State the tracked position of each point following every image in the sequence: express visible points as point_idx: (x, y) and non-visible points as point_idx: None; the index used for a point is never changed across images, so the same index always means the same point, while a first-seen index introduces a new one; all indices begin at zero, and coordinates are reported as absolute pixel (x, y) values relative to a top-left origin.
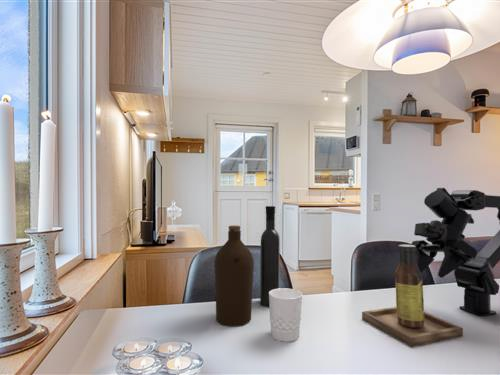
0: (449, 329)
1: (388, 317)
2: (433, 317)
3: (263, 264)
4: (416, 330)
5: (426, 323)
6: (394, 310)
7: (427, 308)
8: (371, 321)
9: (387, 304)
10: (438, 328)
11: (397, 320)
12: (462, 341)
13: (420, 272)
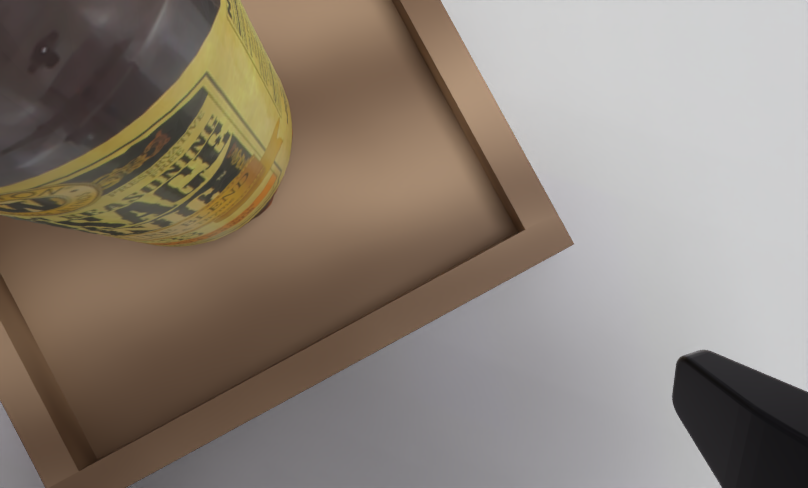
0: (16, 392)
1: (319, 3)
2: (270, 369)
3: None
4: None
5: (236, 289)
6: (442, 83)
7: (698, 474)
8: None
9: (738, 120)
10: (144, 347)
11: None
12: (9, 452)
13: (709, 455)
